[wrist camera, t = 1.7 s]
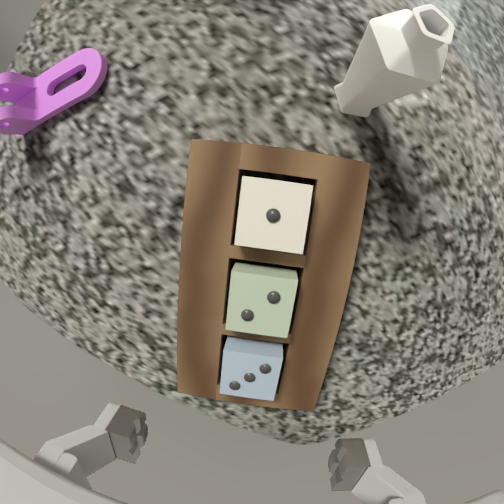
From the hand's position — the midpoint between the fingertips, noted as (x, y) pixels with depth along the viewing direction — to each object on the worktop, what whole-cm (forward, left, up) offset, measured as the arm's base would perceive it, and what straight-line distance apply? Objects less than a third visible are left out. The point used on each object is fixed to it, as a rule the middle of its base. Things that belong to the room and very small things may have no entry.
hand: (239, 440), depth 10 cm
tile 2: (0, 0, -16) cm, 16 cm away
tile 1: (0, -7, -16) cm, 17 cm away
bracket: (+24, -18, -18) cm, 35 cm away
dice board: (0, 0, -18) cm, 18 cm away
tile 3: (0, +7, -16) cm, 17 cm away
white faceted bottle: (-6, -18, -18) cm, 26 cm away
